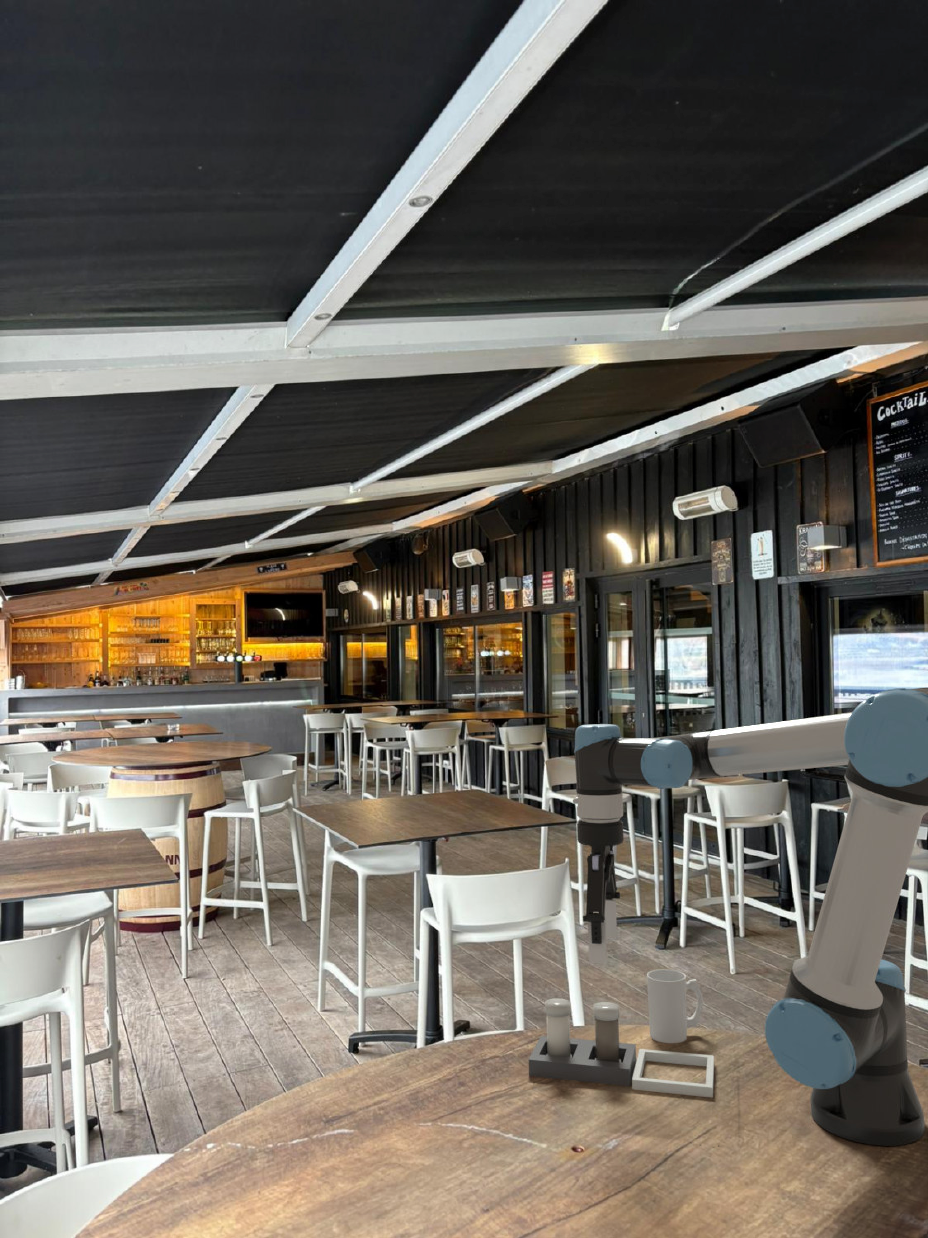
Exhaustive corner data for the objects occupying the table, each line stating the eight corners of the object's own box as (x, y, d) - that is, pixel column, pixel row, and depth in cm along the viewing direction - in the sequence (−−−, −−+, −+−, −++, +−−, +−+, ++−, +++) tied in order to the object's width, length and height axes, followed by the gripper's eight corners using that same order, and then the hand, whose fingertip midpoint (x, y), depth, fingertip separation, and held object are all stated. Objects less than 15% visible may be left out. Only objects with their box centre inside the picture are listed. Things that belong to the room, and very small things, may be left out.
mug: (657, 1054, 158) (654, 983, 159) (643, 1039, 165) (641, 970, 166) (712, 1049, 160) (709, 978, 161) (696, 1034, 166) (694, 966, 167)
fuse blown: (622, 1065, 150) (620, 1003, 151) (619, 1076, 146) (617, 1012, 147) (596, 1063, 152) (595, 1001, 152) (593, 1074, 148) (591, 1010, 148)
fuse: (574, 1061, 153) (572, 999, 153) (569, 1071, 149) (568, 1008, 149) (549, 1058, 154) (547, 997, 154) (544, 1069, 150) (542, 1006, 150)
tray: (714, 1074, 150) (713, 1055, 150) (713, 1107, 139) (712, 1087, 139) (640, 1066, 153) (639, 1049, 154) (632, 1099, 142) (632, 1079, 142)
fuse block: (636, 1069, 153) (635, 1044, 153) (630, 1096, 143) (629, 1069, 143) (541, 1059, 157) (540, 1035, 157) (529, 1085, 147) (528, 1059, 148)
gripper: (587, 807, 164) (591, 928, 163) (564, 831, 140) (568, 973, 139) (630, 808, 162) (634, 931, 161) (613, 832, 138) (618, 976, 137)
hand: (603, 951), depth 150 cm, fingers open, 13 cm apart
